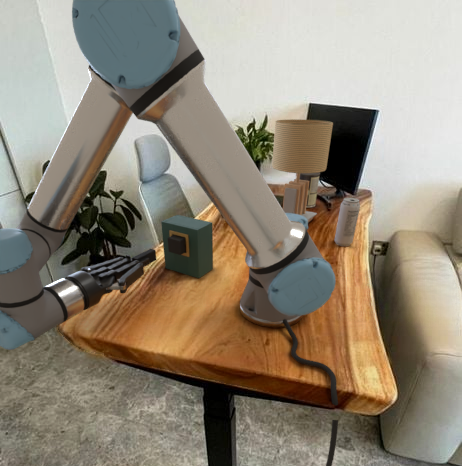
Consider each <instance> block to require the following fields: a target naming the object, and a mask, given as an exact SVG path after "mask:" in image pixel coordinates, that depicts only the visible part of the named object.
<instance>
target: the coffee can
mask: <svg viewBox="0 0 462 466" xmlns="http://www.w3.org/2000/svg"><path fill="white" fill-rule="evenodd" d="M296 174H297V173H295V175H296ZM320 176H321V172H319V173H300V179H299V180H306V181H309V188H308V196H307V204H306V209H309V208H314V207H316V202H317V197H318V189H319V181H320Z"/></svg>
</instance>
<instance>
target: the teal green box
mask: <svg viewBox="0 0 462 466" xmlns="http://www.w3.org/2000/svg"><path fill="white" fill-rule="evenodd" d="M160 224H161V225H160V226H161V237H162V247H163V256H164V267H165V269H167V270H171V271H172V272H173V271H174V272H177V273H180V274H183V275H187V276H189V277H193V278H197V279H201V278H202V277H204V276H205V275H206V274H208V273H209V272H211V271H213V270H214V240H213V238H214V237H213V230H214V229H213V221H208V220H203V219H199V218H195V217H190V216H185V215H180V214H176V215H173V216H171V217H168V218H166V219H163V220H161V221H160ZM173 235H178V236H182V237H186V252H185V253H183V254H181V255H178V254H175V253H171V252H169V250H168V237H170V236H173Z"/></svg>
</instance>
